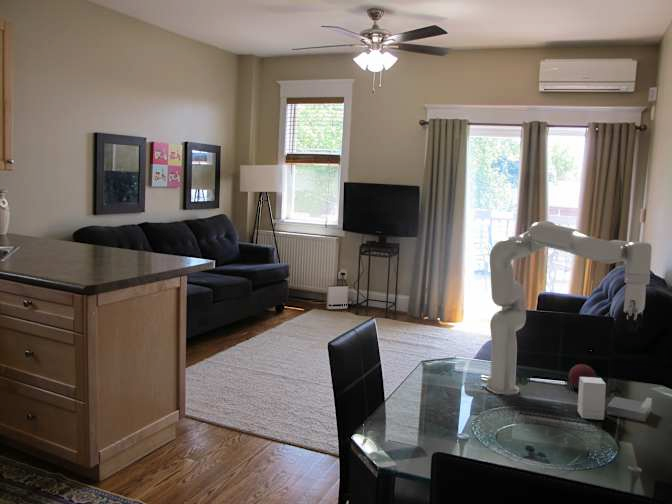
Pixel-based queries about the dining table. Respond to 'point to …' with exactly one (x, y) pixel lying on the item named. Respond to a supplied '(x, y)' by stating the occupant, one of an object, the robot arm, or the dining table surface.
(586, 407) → the supplement box
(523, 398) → the dining table surface
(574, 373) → the decorative ball
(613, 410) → the stand plate
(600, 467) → the dining table surface
